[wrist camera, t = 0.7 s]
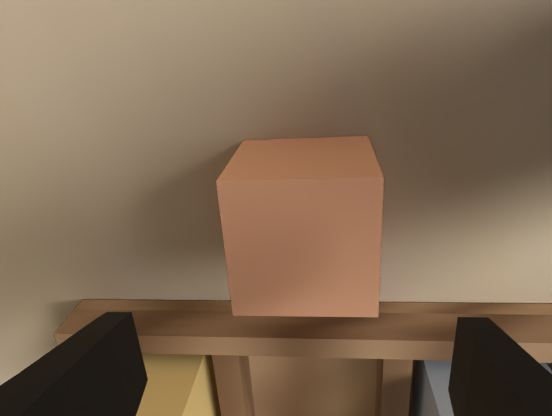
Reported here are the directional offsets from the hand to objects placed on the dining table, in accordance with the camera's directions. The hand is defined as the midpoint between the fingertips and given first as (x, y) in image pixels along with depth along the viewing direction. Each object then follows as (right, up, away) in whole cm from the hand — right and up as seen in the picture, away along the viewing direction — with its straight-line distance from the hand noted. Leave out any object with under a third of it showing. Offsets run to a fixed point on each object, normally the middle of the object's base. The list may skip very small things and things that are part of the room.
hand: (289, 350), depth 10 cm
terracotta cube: (+1, +4, +9) cm, 10 cm away
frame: (+2, -5, +12) cm, 13 cm away
